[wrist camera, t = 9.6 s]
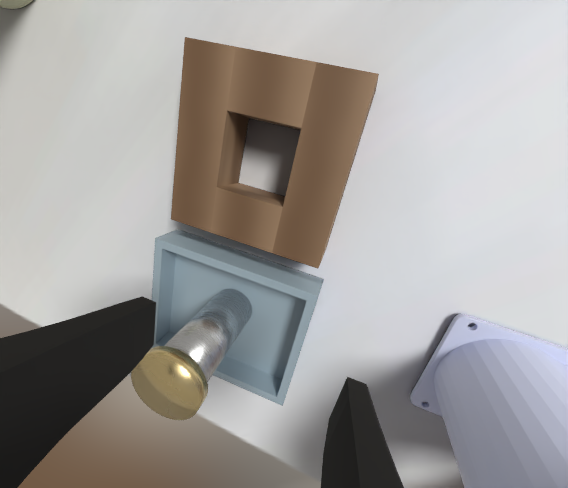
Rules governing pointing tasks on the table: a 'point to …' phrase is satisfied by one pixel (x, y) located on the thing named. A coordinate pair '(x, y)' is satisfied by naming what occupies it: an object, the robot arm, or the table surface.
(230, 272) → the tray
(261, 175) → the table surface
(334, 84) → the pin stand
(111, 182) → the table surface
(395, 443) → the table surface
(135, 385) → the pin
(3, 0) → the can
